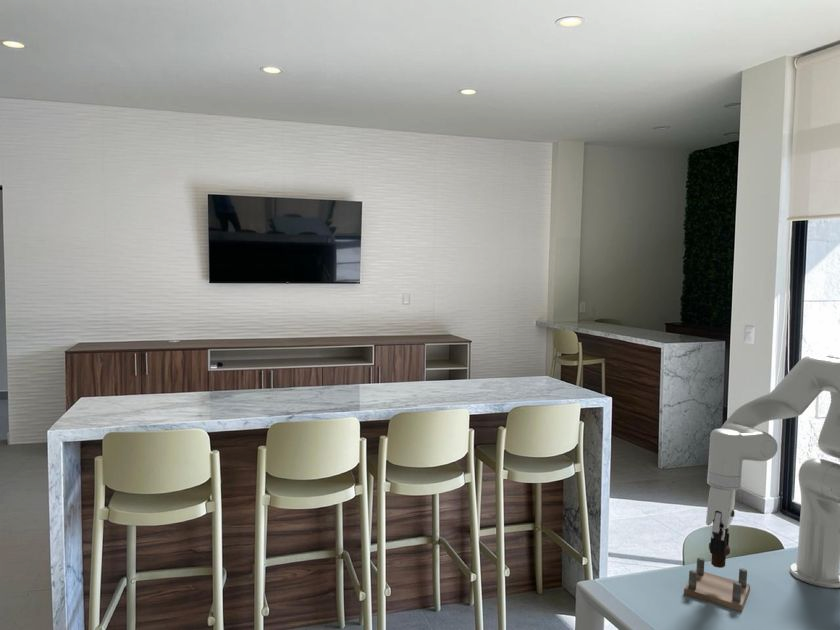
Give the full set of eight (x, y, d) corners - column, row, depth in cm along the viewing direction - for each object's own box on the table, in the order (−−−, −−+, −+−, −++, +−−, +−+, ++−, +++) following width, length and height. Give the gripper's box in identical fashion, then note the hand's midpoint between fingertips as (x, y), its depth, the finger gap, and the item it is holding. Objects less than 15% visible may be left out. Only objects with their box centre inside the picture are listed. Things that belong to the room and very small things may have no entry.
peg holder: (695, 575, 169) (696, 554, 168) (749, 590, 161) (751, 569, 161) (683, 594, 158) (685, 573, 158) (741, 611, 151) (743, 589, 150)
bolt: (732, 572, 156) (736, 512, 155) (710, 569, 157) (714, 510, 156) (725, 562, 161) (729, 504, 161) (704, 559, 162) (708, 502, 162)
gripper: (714, 468, 167) (709, 536, 168) (700, 484, 153) (695, 558, 154) (746, 474, 163) (741, 543, 164) (734, 491, 149) (729, 567, 150)
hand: (719, 550), depth 159 cm, fingers closed on bolt, 4 cm apart
